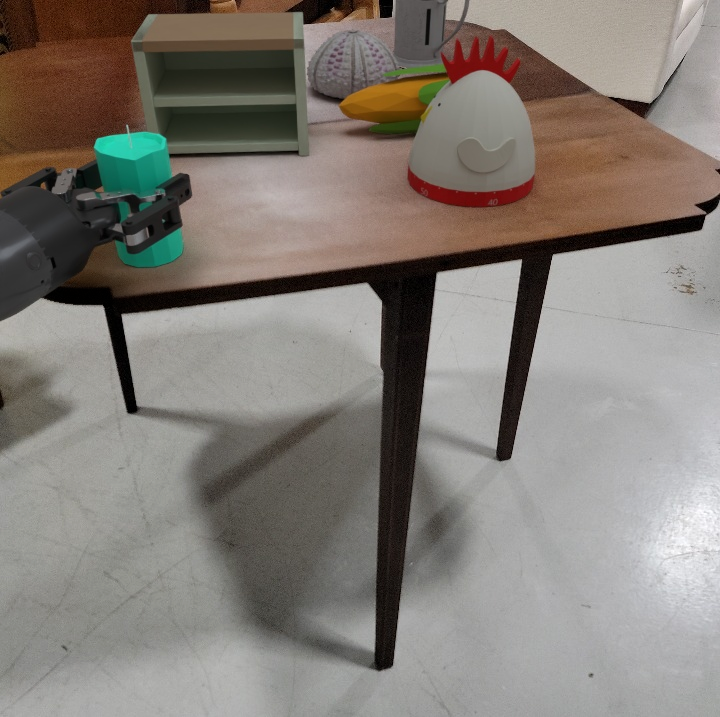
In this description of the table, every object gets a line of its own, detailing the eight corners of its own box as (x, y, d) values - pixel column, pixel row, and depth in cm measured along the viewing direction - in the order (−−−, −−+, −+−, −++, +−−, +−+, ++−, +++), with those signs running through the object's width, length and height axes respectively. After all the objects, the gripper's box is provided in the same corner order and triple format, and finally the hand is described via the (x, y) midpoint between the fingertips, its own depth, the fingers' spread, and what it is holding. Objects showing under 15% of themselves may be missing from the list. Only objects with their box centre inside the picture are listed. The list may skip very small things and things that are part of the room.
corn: (504, 67, 89) (346, 81, 84) (499, 130, 93) (348, 146, 89) (479, 55, 95) (330, 67, 90) (475, 115, 99) (333, 129, 95)
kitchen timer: (400, 157, 87) (405, 21, 77) (514, 153, 88) (532, 18, 78) (418, 209, 76) (427, 58, 66) (548, 204, 77) (574, 54, 67)
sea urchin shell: (348, 112, 99) (348, 50, 94) (287, 88, 107) (284, 29, 102) (417, 91, 106) (420, 32, 101) (356, 70, 114) (356, 15, 109)
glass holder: (419, 51, 122) (425, -50, 113) (481, 71, 114) (492, -37, 104) (379, 60, 118) (381, -44, 109) (440, 82, 109) (448, -30, 100)
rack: (152, 159, 86) (130, 40, 78) (165, 123, 95) (148, 14, 87) (309, 155, 87) (304, 38, 79) (307, 120, 96) (302, 11, 88)
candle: (107, 264, 67) (76, 135, 59) (134, 233, 71) (109, 110, 64) (169, 270, 66) (146, 141, 58) (193, 239, 70) (174, 115, 63)
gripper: (-44, 277, 59) (96, 198, 70) (93, 322, 54) (219, 229, 65) (-79, 190, 54) (77, 120, 66) (69, 230, 49) (209, 147, 61)
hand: (148, 174), depth 65 cm, fingers open, 8 cm apart
